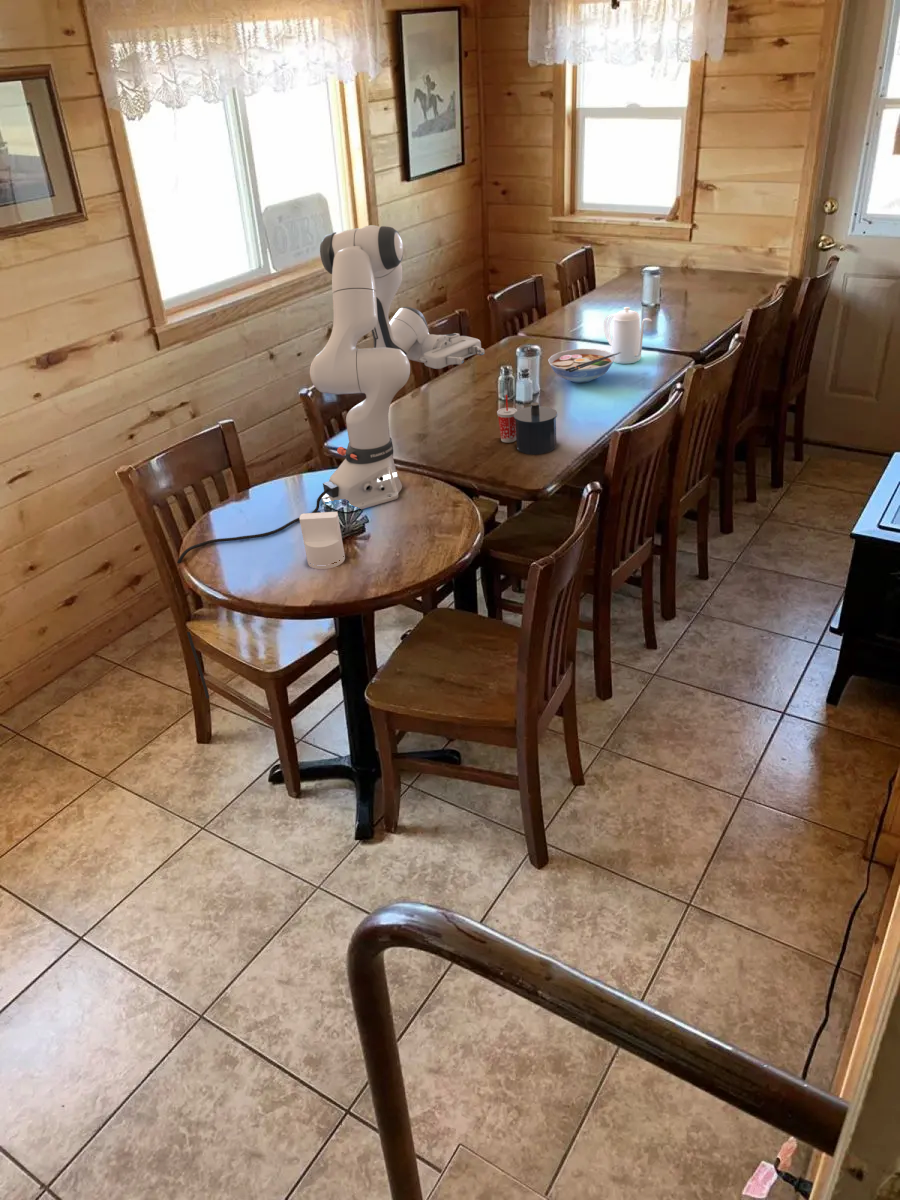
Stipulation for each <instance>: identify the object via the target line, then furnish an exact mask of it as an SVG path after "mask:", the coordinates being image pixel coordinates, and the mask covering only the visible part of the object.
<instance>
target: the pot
mask: <svg viewBox="0 0 900 1200" xmlns="http://www.w3.org/2000/svg"><path fill="white" fill-rule="evenodd" d="M515 421H516V420H515ZM515 443H516V449H517V451H518V452H520V453H522V454H526V455H543V454H544V455H545V454H549V453H550V452H552V451H554V450H556V448H557V417H556V418H555V419H554V420H552V421H549V422H546V423H540V424H525V423H520V422H518V421H516V441H515Z"/></svg>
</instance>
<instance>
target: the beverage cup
mask: <svg viewBox="0 0 900 1200" xmlns="http://www.w3.org/2000/svg"><path fill="white" fill-rule="evenodd" d="M518 410H519V409H517V408H515V407H509V403H508V394H505V407H502V408H499V409H498V410H497V411H496V415H497V417H498V425H499V435H500V441H501V442H502V443H506V444H507V443H509V444H511V443H514V442H516V421H515V419H514V413H515V412H516V411H518Z"/></svg>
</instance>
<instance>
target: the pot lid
mask: <svg viewBox="0 0 900 1200" xmlns="http://www.w3.org/2000/svg"><path fill="white" fill-rule="evenodd" d="M517 410H518V411H516V412H515V413H514V419H515V420H516V421H518V422H520V423H525V424H540V423H546V422H549V421H552V420H554V419H555V418H556V419H557V417H558V411H557V410H556V409H555V408H552V407H549V406H545V405H543V406H541V405H540V403H539V402H531V403H530V406H527V407H523V408H520V409H517Z"/></svg>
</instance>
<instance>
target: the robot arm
mask: <svg viewBox="0 0 900 1200" xmlns="http://www.w3.org/2000/svg"><path fill="white" fill-rule="evenodd" d="M403 244H404V243H403V240H402V238H401V235H400V233H399V232H398V231H397V230H396V229H395V228H393V227H391V226H387V225H386V226H385V225H384V226H383V225H382V226H378V225H376V224H370V225H366V226H363V227H361V228H359V227H357V228H351V229H347V230H343V231H339V232H335V231H334V232H332V233H329V234H326V235H324V237H323V238H322V240H321V242H320V244H319V254H320V260H321V263H322V266H323V268H324V269H325V270H326V271H327V272H328V273H329V274H330V275H331V293H332V306H333V307H332V308H333V323H332V330H331V333H330V336H329V339H328V341H327V342H326V344H325V346H323V348H322V350H320V352H319V353H317V354H316V355H315V356H314V357H313V359H312V360H311V364H310V366H309V377H310V380H311V383H312V385H313V386H314V388H315V389H316V390H317V391H318V392H319V393H323V394H329V395H349V394H351V395H352V394H365V398H364V399H363V400H362V401H361V402H359V403H357V404H356V405H354V406H353V407H351V409H349V410H348V412H347V414H346V415H345V416H346V418H345V423H346V430H347V437H348V444H347V448H345V447H343V446H339V447H338V448H337V449H336V450H337V451H336V452H337V454H338V455H340V456H342V457H343V456H345V459H344V460H343V461H342V462H341V463H340V464H339V466H338V467H337V468H336V469H335V471H334V472H333V473H331V475H330V477H329V479H328V481H325V482H323V483H322V487H323V488H322V489H323V491H322V493H320V494H319V495H318V497H317V499H316V507H315V509H314V510H313V511H312V512H311V513H318V511H319V509H320V506H321V505H320V504H321V502H322V503H323V505H325V502H329V501H334V500H340V499H346V500H348V501H349V503H350V504H351V505H353V506H355V507H358V508H360V509H361V510H364V509H367V508H371V507H374V506H378V505H381V504H385V503H388V502H392V501H395V500H397V499H399V493H400V492H401V491H402V489H403V484H402V482H401V480H400V478H399V477H400V476H399V474H398V472H397V468H396V464H395V460H394V444H393V439H392V437H391V435H390V423H389V422H390V421H389V413H390V407H391V404H392V401H393V399H394V397H395V396H396V395H397V393H398V392H399V391H400V390H402V388H403V387H404V386H405V385H406V384H407V383H408V381H409V378H410V375H411V363H410V361H414V362H417V363H418V362H419V363H422V364H423V363H424V366H426V367H428V368H431V369H436V370H440V369H443V368H446V367H448V366H450V365H451V366H452V365H462V364H464V363H465V361H464V360H465V359H467V358H469V357H472V356H474V355H477V356H480V357H481V356H483V355H485V354H486V353H485V348H482V342H481V340H480V339H478V338H476V337H471V336H467V335H460V333H458V332H457V333H456V332H454V333H448V334H433V333H431V334H430V333H429V331H430V329H429V326H428V323H427V320H426V317H425V316H424V314H423V313H422V311H420V310H419V309H417V308H414V307H411V306H402V307H399V309H398V310H397V311H396V312H395V314H394V315H393V317H392V318H391V319H389V312H390V309H391V306H392V303H393V300H394V299H395V296H396V294H397V292H398V290H399V288H400V287H401V284H402V281H403V276H404V274H403V273H404V271H403V265H402V261H403V257H404V256H403V255H404V245H403ZM369 333H371V334H372V338H373V347H367V348H357V344H358V342H359V340H360V339H361V338H363V337H364V336H366V335H367V334H369ZM299 518H300V517H297V518H295V519H293V520H291V521H289V522H287V523H286V524H284V525H282V526H280V527H278V528H276V529H273V530H270V531H267V532H263V533H257V534H250V535H242V536H234V537H223V538H213V539H210V540H209V539H208V540H206V541H203V542H200V543H196V544H193V545H191V546H189V547H187V548H186V549H185V550H184V551H183V552H182V553H181V555H180V556H179V558H178V559H177V561H176V562H177V564H180V563H182V561H183V559H184V558H185V556H186V555H187V554H188V553H189V552H191V551H192V550H195V549H197V548H200V547H201V548H202V547H203V546H207V545H210V544H214V543H220V542H221V543H222V542H233V541H241V540H248V539H255V538H256V539H258V538H263V537H267V536H271V535H274V534H277V533H279V532H281V531H283V530H285V529H287V528H288V527H290V526H292V525H293V524H295V523H298V522H300V519H299ZM186 634H187V638H188V642H189V644H190V648H191V651H192V654H193V657H194V661H195V664H196V667H197V671H198V673H199V678H200V680H201V684H202V688H203V690H204V694H205V699H207V700H208V699H210V695H209V690H208V687H207V683H206V680H205V677H204V673H203V669H202V667H201V664H200V660H199V657H198V654H197V651H196V648H195V644H194V641H193V638H192V635H191V631H186Z"/></svg>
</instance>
